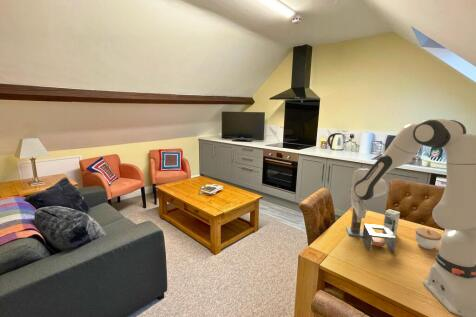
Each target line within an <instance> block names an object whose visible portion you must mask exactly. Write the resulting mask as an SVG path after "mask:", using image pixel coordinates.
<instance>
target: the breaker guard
mask: <svg viewBox="0 0 476 317" xmlns="http://www.w3.org/2000/svg"><path fill="white" fill-rule="evenodd" d="M375 230H382V231H383V230H384V231H385V234H382V232H381V233H380V232H375ZM362 232H363V237H361V238H362V240H363V243H364V245H365V247H366V249H367V251H371V245H372V241H371V240H372V237H376V238H382V239H383V241H384V243H385V245H386V247H387V248H388V250H389V251H390V253H391V254H392V255H394V254H395V250H396V243H397V237H396V235H394V234H393V232H392V231H391V229H390V228H389V227H388V226H383V225H382V224H381V225H380V224H379V225H378V224H369V223H364V224H363V229H362Z"/></svg>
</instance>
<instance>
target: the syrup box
mask: <svg viewBox="0 0 476 317" xmlns="http://www.w3.org/2000/svg"><path fill="white" fill-rule="evenodd" d="M400 215H401V212H400V211H396V210H392V209H390V208H389V209H387V210H385V212H384V217H383V219H384V220H383V225H382V226H388V227H389V228H390V229H391V231H392V232H393V234H394V235H395V236H397V234H398V227H399V220H400ZM381 233H382V234H385V231H384V230H382V232H381Z"/></svg>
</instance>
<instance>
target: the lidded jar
mask: <svg viewBox="0 0 476 317" xmlns="http://www.w3.org/2000/svg"><path fill="white" fill-rule="evenodd" d="M414 238H415V241H416V242H417V244H418V245H419V247H421V248H422V249H426V250H433V249H435V248H437V247H438V246H439V245H440V244H441V240H442V235H441V234H440V233H439V232H437V231H436V230H433V229H430V228H425V227H417V228H416V229H415V236H414Z"/></svg>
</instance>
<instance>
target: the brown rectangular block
mask: <svg viewBox="0 0 476 317" xmlns="http://www.w3.org/2000/svg"><path fill="white" fill-rule="evenodd" d="M361 225H362V221H361V222H360V223H359V222H357V214H356V212H355V210H354V208H353V207H352V216H351V225H350V228H351V231H352V233H359V234H360V229H361Z"/></svg>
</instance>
